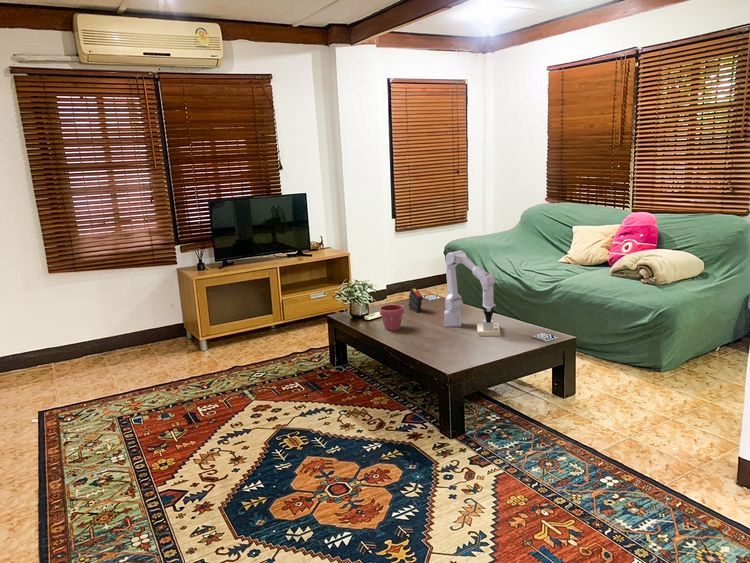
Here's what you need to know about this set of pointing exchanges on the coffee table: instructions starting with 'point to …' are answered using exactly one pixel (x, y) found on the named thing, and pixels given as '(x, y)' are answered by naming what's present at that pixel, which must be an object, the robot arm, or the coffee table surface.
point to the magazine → (415, 300)
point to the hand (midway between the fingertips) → (488, 320)
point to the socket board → (488, 333)
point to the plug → (487, 325)
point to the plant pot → (392, 316)
